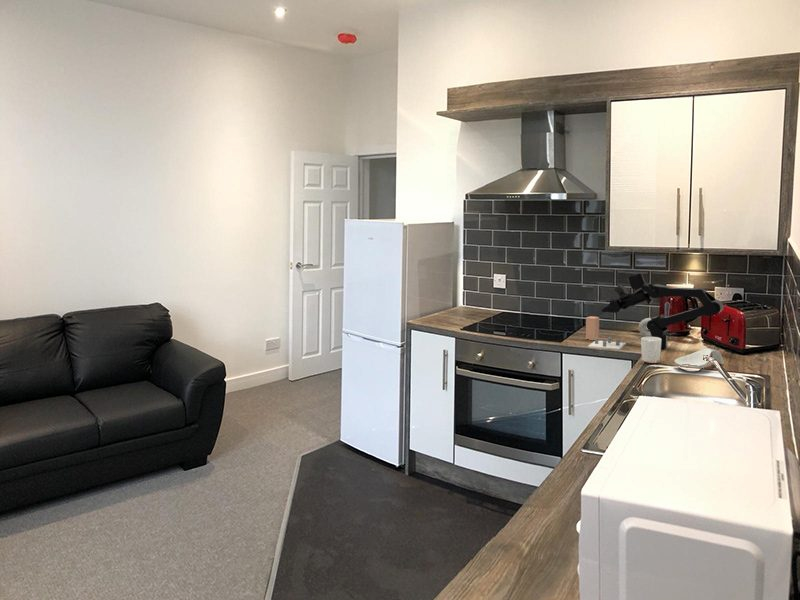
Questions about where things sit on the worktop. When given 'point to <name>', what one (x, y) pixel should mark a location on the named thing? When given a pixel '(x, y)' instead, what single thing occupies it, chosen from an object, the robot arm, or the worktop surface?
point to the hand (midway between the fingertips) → (605, 309)
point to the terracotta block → (592, 328)
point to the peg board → (607, 344)
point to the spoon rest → (698, 358)
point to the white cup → (650, 348)
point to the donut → (644, 327)
